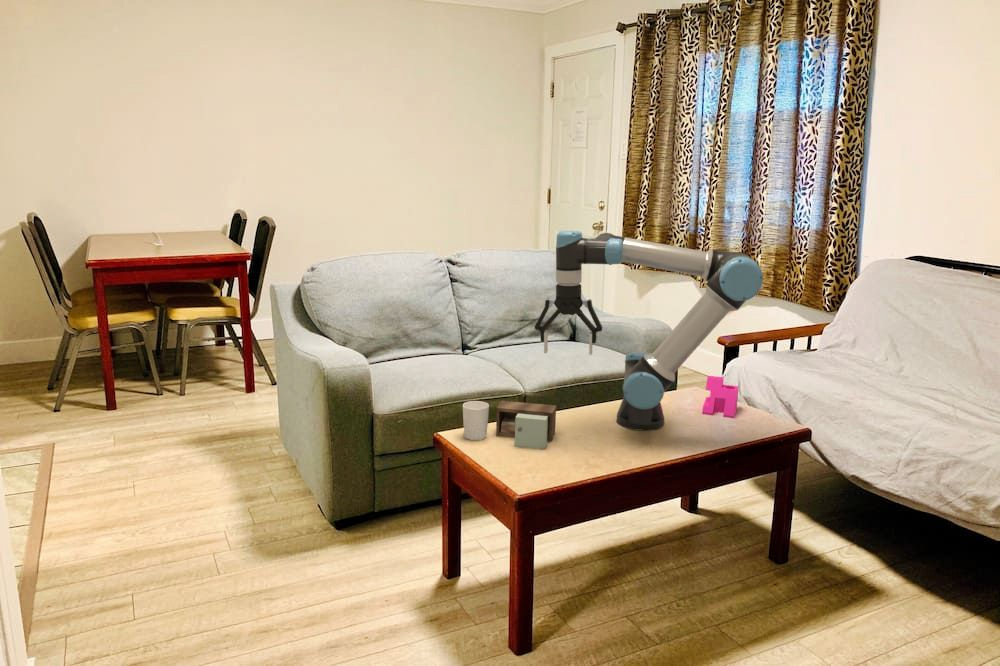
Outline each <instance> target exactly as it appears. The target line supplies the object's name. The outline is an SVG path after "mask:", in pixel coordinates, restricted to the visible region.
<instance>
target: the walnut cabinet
mask: <svg viewBox="0 0 1000 666" xmlns="http://www.w3.org/2000/svg"><path fill="white" fill-rule="evenodd" d="M518 413H519V414H529V415H540V416H548V428H547V442H552V441H553V439H554V437H555V434H556V423H557V422H556V418H557V417H556V416H557V405H556V404H555V405H554V404H553V405H552V404H544V403H534V402H533V403H532V402H531V403H530V402H518V401H510V400H509V401H507V400H501V401H500V403H499V404H498V405H497V407H496V421H495V422H496V426H495V427H496V428H495V429H496V430H495V435H496V437H503V438H513V439H515V417H516V416H517V414H518Z"/></svg>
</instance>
